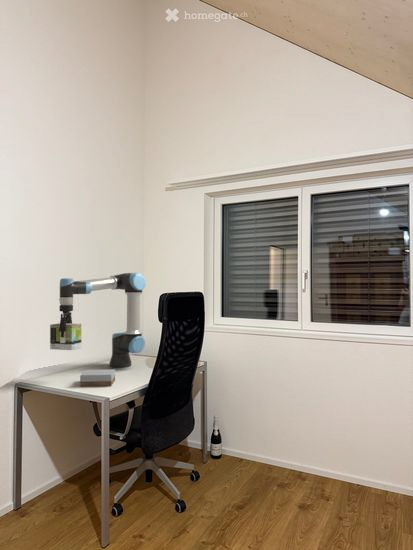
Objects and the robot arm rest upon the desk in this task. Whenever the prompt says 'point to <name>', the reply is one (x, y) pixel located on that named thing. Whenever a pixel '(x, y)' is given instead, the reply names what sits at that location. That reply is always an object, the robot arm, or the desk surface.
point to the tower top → (97, 375)
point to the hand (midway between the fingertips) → (65, 341)
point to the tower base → (97, 383)
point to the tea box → (70, 340)
